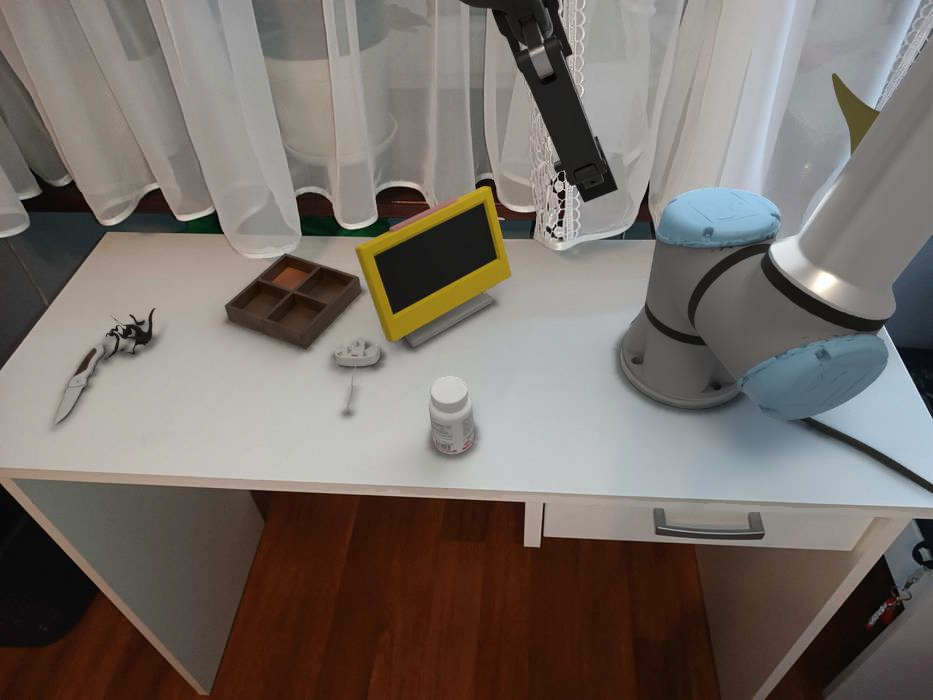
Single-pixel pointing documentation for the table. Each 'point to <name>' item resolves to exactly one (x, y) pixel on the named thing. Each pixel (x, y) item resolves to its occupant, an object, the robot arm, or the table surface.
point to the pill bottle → (451, 415)
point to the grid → (294, 300)
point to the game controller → (357, 355)
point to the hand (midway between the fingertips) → (577, 122)
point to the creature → (140, 335)
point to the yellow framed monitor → (435, 267)
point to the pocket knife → (79, 381)
